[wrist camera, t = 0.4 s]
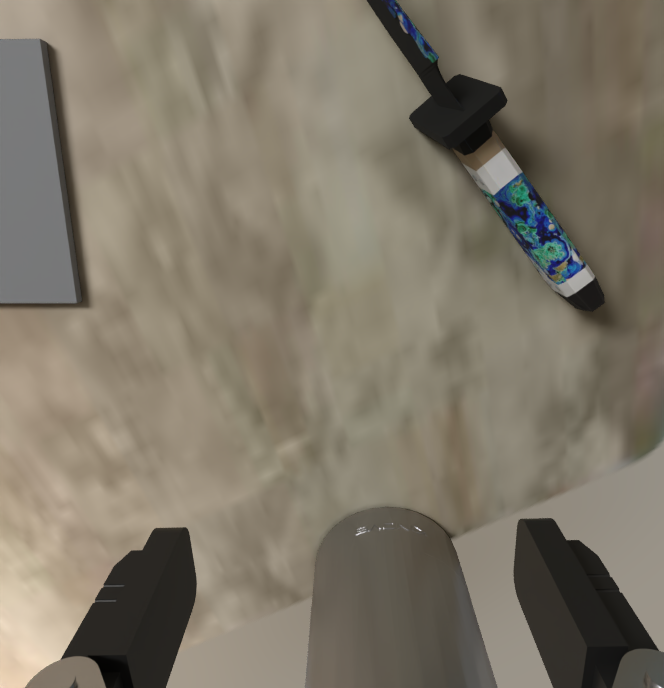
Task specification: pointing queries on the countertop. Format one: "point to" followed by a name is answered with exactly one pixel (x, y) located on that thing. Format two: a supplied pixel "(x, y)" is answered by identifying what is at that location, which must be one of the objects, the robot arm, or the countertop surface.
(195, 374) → the countertop surface
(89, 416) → the countertop surface
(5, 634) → the countertop surface
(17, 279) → the pad
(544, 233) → the knife
